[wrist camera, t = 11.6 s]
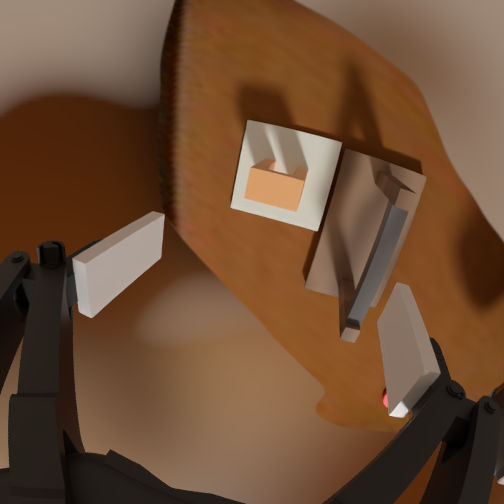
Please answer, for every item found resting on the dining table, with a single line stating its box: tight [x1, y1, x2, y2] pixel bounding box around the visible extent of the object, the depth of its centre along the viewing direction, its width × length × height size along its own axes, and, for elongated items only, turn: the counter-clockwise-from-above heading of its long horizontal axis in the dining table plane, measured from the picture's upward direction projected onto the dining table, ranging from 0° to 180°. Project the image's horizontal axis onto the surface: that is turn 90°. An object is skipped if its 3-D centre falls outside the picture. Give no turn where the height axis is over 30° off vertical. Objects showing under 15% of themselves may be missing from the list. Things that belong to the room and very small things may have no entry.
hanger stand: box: [305, 148, 427, 343], centre depth 30 cm, size 10×18×12 cm, turn 169°
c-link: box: [244, 158, 308, 212], centre depth 31 cm, size 5×3×8 cm, turn 79°
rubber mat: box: [231, 120, 342, 231], centre depth 34 cm, size 11×11×1 cm
